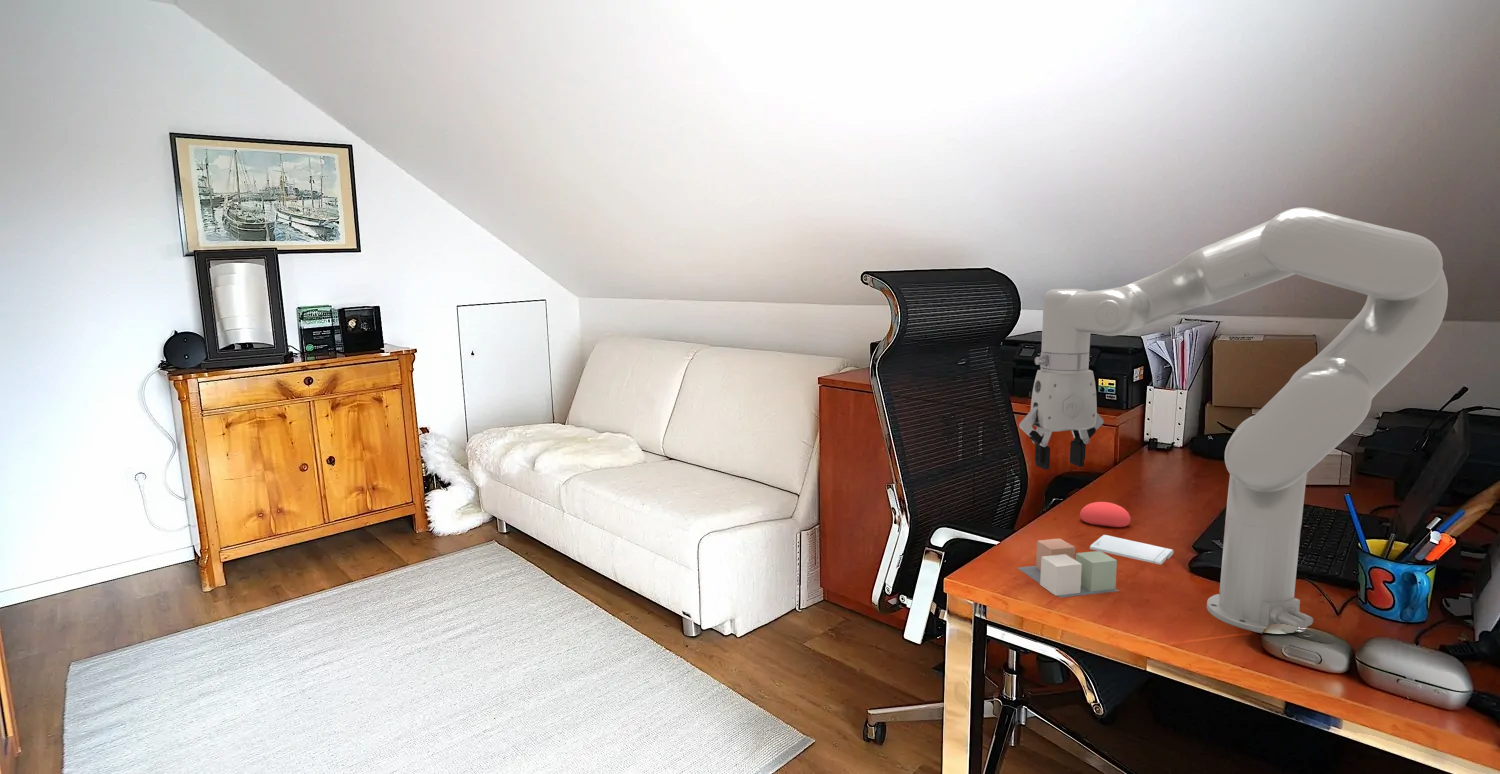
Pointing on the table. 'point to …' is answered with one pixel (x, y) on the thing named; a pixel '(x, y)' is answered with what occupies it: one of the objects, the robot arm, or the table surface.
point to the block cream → (1060, 574)
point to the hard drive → (1132, 549)
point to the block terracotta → (1053, 549)
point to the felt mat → (1036, 575)
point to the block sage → (1097, 571)
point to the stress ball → (1105, 514)
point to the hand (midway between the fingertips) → (1059, 465)
